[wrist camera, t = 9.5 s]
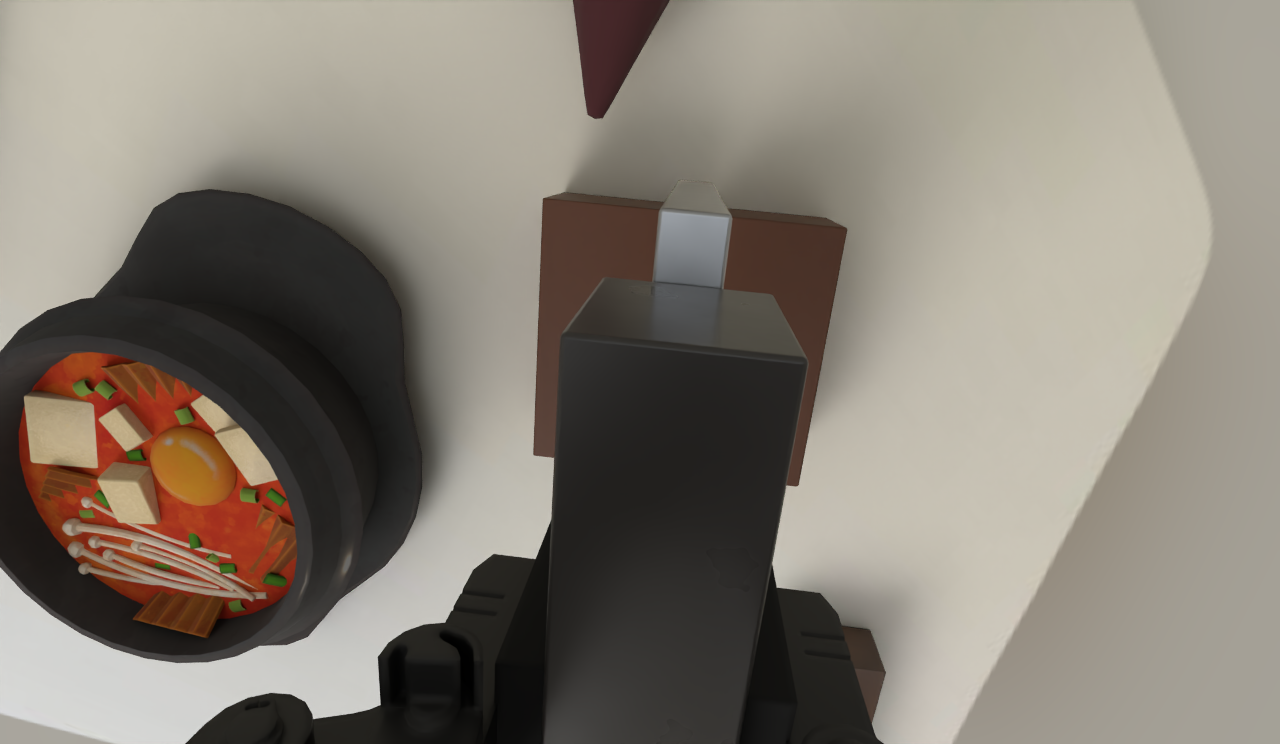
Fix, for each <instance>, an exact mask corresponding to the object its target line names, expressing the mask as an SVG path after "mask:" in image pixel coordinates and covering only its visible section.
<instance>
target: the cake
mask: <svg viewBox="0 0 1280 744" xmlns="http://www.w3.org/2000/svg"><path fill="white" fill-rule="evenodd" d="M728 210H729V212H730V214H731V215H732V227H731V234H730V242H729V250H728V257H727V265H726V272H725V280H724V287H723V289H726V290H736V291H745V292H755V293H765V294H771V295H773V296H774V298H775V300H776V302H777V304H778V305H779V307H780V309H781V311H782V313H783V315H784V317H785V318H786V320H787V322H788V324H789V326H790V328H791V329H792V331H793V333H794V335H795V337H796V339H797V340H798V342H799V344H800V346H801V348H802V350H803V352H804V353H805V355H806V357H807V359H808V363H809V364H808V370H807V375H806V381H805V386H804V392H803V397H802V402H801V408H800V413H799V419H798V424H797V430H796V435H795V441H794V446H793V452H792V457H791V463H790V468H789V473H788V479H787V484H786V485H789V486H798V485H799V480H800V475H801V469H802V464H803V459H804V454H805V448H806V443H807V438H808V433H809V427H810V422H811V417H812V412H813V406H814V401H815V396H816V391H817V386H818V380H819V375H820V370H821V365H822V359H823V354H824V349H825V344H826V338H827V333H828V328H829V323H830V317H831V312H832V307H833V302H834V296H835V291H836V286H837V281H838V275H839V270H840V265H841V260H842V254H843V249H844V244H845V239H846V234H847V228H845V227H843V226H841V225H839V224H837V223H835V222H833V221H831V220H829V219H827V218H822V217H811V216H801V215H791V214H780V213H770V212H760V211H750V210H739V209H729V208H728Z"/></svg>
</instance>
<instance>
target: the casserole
mask: <svg viewBox="0 0 1280 744" xmlns="http://www.w3.org/2000/svg"><path fill="white" fill-rule="evenodd" d="M421 489H422V453H421V449H420V444H419V440H418V436H417V432H416V428H415V423H414V419H413V415H412V411H411V407H410V403H409V399H408V394H407V390H406V386H405V377H404V344H403V332H402V320H401V310H400V307H399V305H398V303H397V301H396V299H395V297H394V295H393V293H392V291H391V288H390V286H389V284H388V282H387V280H386V279H385V278H384V276H383V275H382V274H381V273H380V272H379V271H378V270H377V269H376V268H375V266H374V265H373V264H372V263H371V262H370V261H369V260H368V259H367V258H366V257H365V255H364V254H363V253H362V252H361V251H359V250H358V249H357V248H355V247H354V246H353V245H351V244H350V243H349V242H347V241H346V240H345V239H344V238H342V237H341V236H340V235H338V234H337V233H336V232H334V231H333V230H332V229H330V228H329V227H327V226H326V225H324V224H322V223H320V222H318V221H316V220H314V219H312V218H310V217H309V216H307V215H305V214H303V213H301V212H299V211H297V210H295V209H294V208H292V207H290V206H287V205H283V204H280V203H277V202H274V201H271V200H267V199H264V198H261V197H258V196H254V195H251V194H247V193H238V192H229V191H221V190H212V189H209V190H200V191H192V192H184V193H178V194H176V195H175V196H173V197H171V198H170V199H168V200H166V201H165V202H163V203H161V204H160V205H158V206H156V207H155V208H154V209H153V210H152V212H151V214H150V215H149V217H148V219H147V220H146V222H145V224H144V226H143V227H142V229H141V231H140V232H139V234H138V236H137V238H136V240H135V241H134V243H133V245H132V247H131V249H130V251H129V253H128V255H127V257H126V259H125V261H124V263H123V265H122V267H121V268H120V269H119V271H118V272H117V273H116V274H115V275H114V276H113V277H112V278H111V279H110V280H109V281H108V283H107V284H106V285H105V286H104V287H103V288H102V289H101V290H100V291H99V292H98V293H97V295H96V296H95V297H94V298H86V299H80V300H77V301H74V302H71V303H68V304H65V305H62V306H59V307H56V308H53V309H50V310H47V311H46V312H44V313H43V314H41V315H40V316H38V317H37V318H35V319H34V320H32V321H31V322H29V323H28V324H26V325H25V326H23V327H22V328H20V329H19V330H18V332H17V333H16V334H15V335H14V336H13V337H12V339H11V340H10V341H9V342H8V343H7V344H6V346H5V347H4V348H3V349H2V350H1V352H0V567H1V568H2V569H3V571H4V572H5V573H6V574H7V575H8V576H9V577H10V578H11V579H12V580H13V581H14V582H15V583H16V584H17V586H18V587H19V588H20V589H21V590H22V591H23V592H24V593H25V594H26V595H28V596H29V597H30V598H31V599H32V600H34V601H35V602H36V603H37V604H39V605H40V606H41V607H42V608H43V609H45V610H46V611H47V612H48V613H49V614H51V615H52V616H54V617H55V618H57V619H58V620H60V621H61V622H63V623H65V624H66V625H68V626H69V627H71V628H73V629H74V630H76V631H77V632H79V633H81V634H82V635H85V636H87V637H89V638H91V639H93V640H96V641H98V642H100V643H102V644H104V645H106V646H109V647H111V648H113V649H116V650H120V651H123V652H126V653H130V654H133V655H136V656H140V657H143V658H147V659H154V660H161V661H168V662H175V663H193V662H211V661H216V660H220V659H225V658H230V657H235V656H238V655H240V654H242V653H244V652H247V651H249V650H251V649H253V648H256V647H258V646H260V645H261V646H266V645H288V644H290V643H293V642H296V641H298V640H301V639H304V638H306V637H308V636H309V635H310V634H311V632H312V631H313V630H314V629H315V628H316V627H317V625H318V624H319V623H320V622H321V621H322V620H323V618H324V617H325V616H326V615H327V614H328V613H329V611H330V610H331V609H332V608H333V607H334V606H335V604H336V603H337V602H338V601H339V600H340V599H341V598H342V597H344V596H345V595H346V594H348V593H349V592H351V591H352V590H353V589H355V588H356V587H357V586H359V585H360V584H361V583H363V582H364V581H365V580H367V579H368V578H370V577H371V576H372V575H374V574H375V573H376V572H378V571H379V570H380V569H382V568H383V567H384V566H385V565H386V564H387V563H388V562H389V560H390V559H391V558H392V557H393V556H394V554H395V553H396V552H397V551H398V549H399V548H400V547H401V546H402V544H403V543H404V541H405V539H406V537H407V534H408V532H409V530H410V528H411V526H412V524H413V522H414V520H415V518H416V514H417V509H418V504H419V499H420V494H421Z"/></svg>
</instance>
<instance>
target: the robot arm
mask: <svg viewBox="0 0 1280 744" xmlns="http://www.w3.org/2000/svg"><path fill="white" fill-rule="evenodd" d="M550 539H551V522H550V524H549V527H548V530H547V532H546V535H545V537H544V540H543V542H542V545H541V547H540V550H539V552H538V555H537V557H536V559H529V558H521V557H513V556H505V555H497V554H493V555H492V556H491V557H489V558H488V559H487V560H485V561H484V562H483V563H482V564H480V565H479V566H478V567H476V568H475V569H474V570H473V572H472V574H471V575H470V577H469V579H468V581H467V583H466V585H465V587H464V588H463V592H462V594H460V596H459V598H458V600H457V602H456V603H455V605H454V609H453V611H451V613H450V615H449V617H448V618H447V620H446V622H445V623H437V624H426V625H422V626H419V627H416V628H413V629H411V630H408V631H405V632H403V633H402V634H401V635H399V636H398V637H396V638H395V639H393V640H392V641H390V642H389V643H388V644H387V646H386V647H385V648H384V650H383V651H382V652H381V654H380V655H379V656H378V666H379V683H380V700H381V705H380V706H377V707H375V708H373V709H370V710H366V711H362V712H358V713H353V714H347V715H339V716H332V717H325V718H318V719H313V716H312V713H311V711H310V710H309V708H308V706H307V704H306V703H305V702H304V701H302V700H300V699H298V698H297V697H295V696H293V695H291V694H277V693H269V694H264V695H259V696H255V697H250V698H247V699H245V700H243V701H240V702H238V703H236V704H234V705H232V706H230V707H227V708H225V709H224V710H223V711H222V712H220V713H219V714H218V715H216V716H215V717H214V718H212V719H211V720H210V721H209V722H207V723H206V724H205V725H204V726H203V727H202V728H201V729H200V730H199V731H198V732H197V733H196V734H195V735H194V736H193V737H192V738H191V739H190V740H189V741H188V742H187V743H186V744H541V726H542V705H543V685H544V664H545V643H546V622H547V602H548V581H549V560H550ZM739 744H884V743H882V742H881V741H879V740H878V739H877V738H876V736H875V733H874V730H873V727H872V724H871V720H870V717H869V714H868V711H867V707H866V704H865V701H864V698H863V694H862V691H861V688H860V684H859V681H858V678H857V675H856V671H855V668H854V665H853V662H852V661H851V655H850V652H849V649H848V645H847V642H846V641H845V636H844V632H843V629H842V626H841V623H840V619H839V616H838V614H837V612H836V611H835V610H834V609H833V608H832V607H831V605H830V604H829V603H828V602H827V601H826V599H825V598H824V597H823V596H822V595H821V593H815V592H807V591H799V590H791V589H783V588H776V582H775V577H774V571H773V566H771V572H770V577H769V583H768V588H767V594H766V599H765V604H764V610H763V615H762V621H761V626H760V632H759V637H758V643H757V648H756V654H755V659H754V664H753V670H752V675H751V681H750V686H749V692H748V697H747V703H746V708H745V714H744V719H743V725H742V730H741V735H740V741H739Z"/></svg>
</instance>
